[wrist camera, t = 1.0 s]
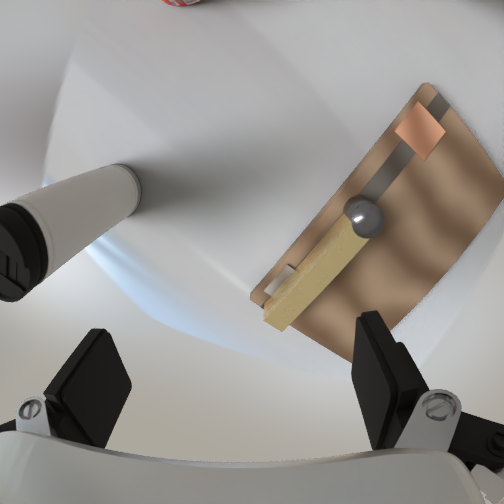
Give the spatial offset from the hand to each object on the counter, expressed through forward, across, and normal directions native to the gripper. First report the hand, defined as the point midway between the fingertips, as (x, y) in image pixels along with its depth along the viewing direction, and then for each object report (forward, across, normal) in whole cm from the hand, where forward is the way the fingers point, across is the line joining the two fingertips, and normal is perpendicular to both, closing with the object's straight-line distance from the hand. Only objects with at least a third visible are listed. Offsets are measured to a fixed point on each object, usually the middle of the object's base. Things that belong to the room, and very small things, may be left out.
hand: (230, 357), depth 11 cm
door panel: (+23, -15, +4) cm, 28 cm away
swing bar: (+21, -6, +5) cm, 22 cm away
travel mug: (+23, +15, -4) cm, 28 cm away
